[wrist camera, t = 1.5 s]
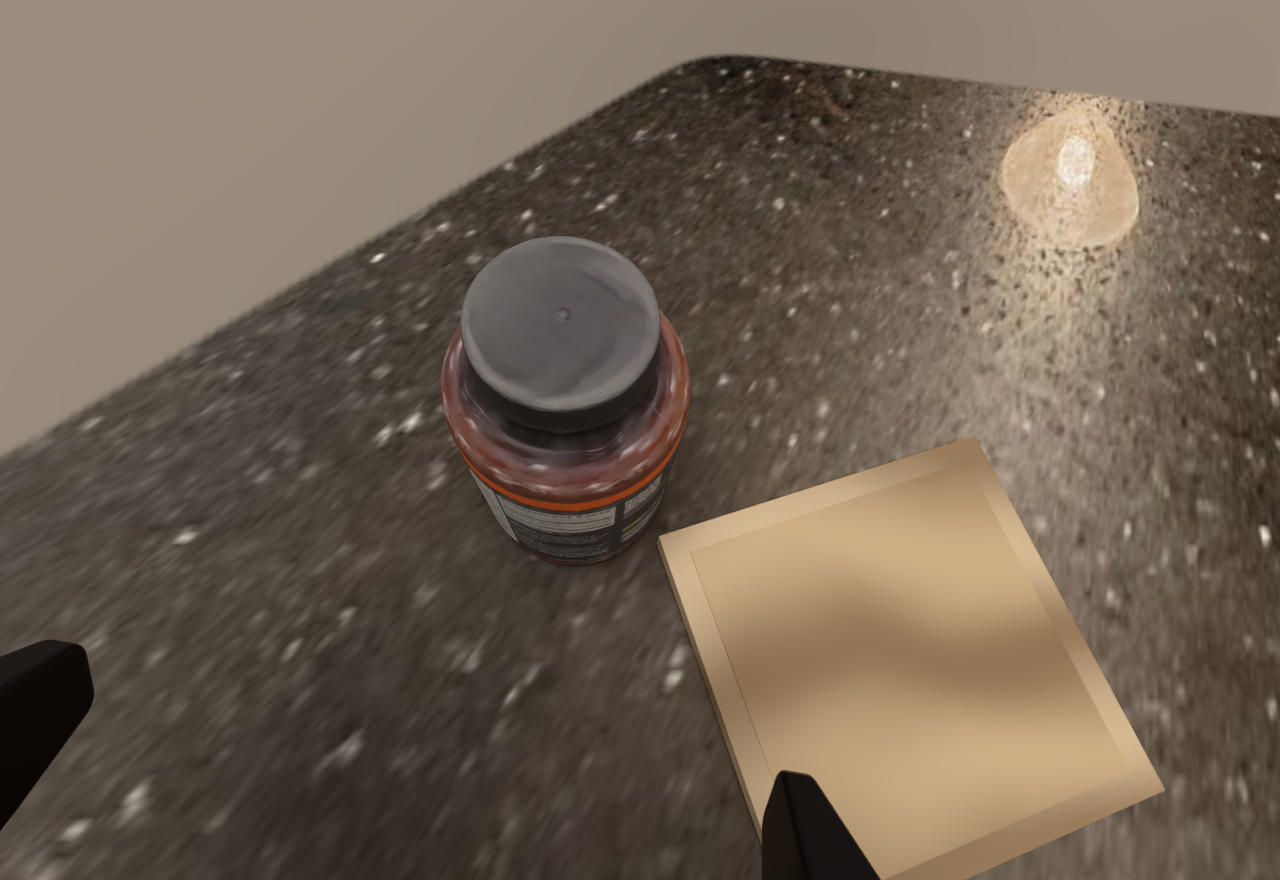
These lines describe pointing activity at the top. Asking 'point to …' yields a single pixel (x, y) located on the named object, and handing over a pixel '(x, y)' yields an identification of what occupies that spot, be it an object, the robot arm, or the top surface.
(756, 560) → the coaster
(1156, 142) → the top surface
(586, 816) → the top surface
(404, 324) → the top surface
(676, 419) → the supplement bottle
